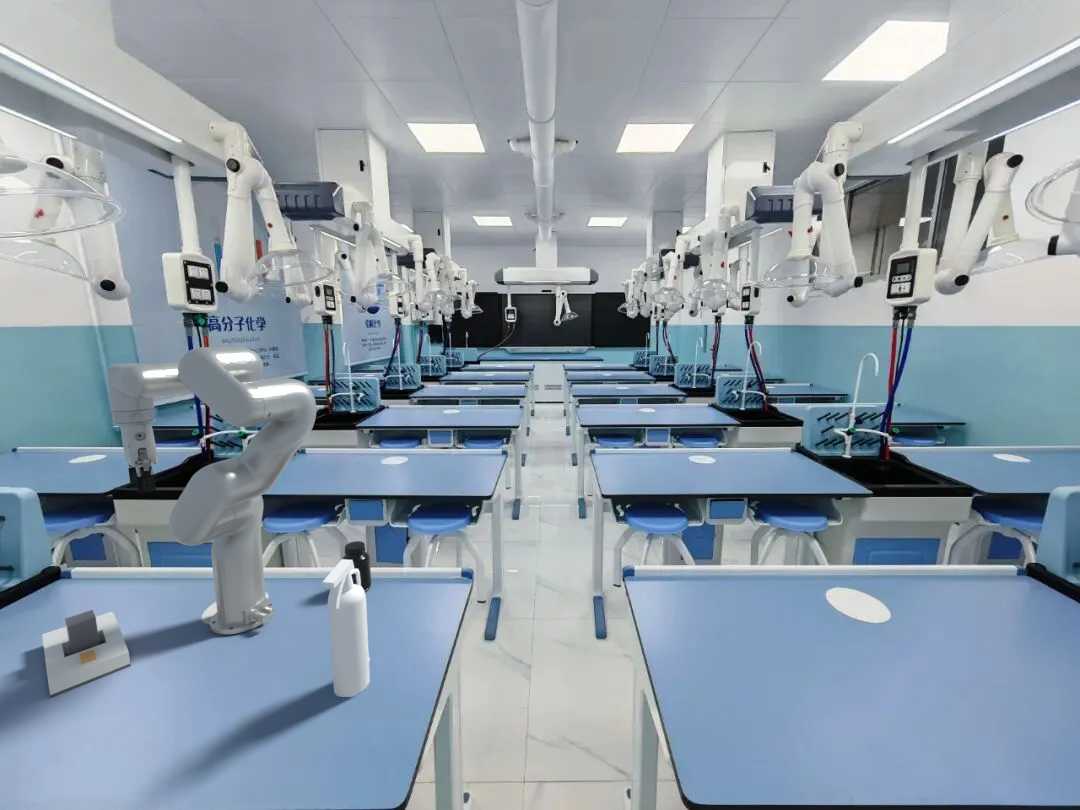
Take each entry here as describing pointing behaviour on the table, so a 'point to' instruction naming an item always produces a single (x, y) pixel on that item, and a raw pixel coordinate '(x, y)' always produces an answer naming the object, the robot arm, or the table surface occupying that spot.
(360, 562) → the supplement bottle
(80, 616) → the block
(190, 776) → the table surface
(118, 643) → the switch panel
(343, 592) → the white spray bottle
